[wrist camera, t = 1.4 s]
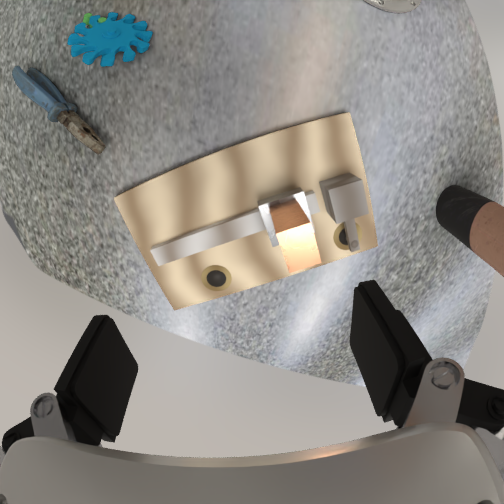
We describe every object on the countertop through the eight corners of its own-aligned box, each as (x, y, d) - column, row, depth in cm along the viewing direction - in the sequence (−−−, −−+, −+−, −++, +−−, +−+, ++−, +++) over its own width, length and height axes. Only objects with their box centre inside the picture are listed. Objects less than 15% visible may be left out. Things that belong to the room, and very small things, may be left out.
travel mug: (433, 187, 33) (535, 248, 15) (467, 179, 33) (563, 231, 15) (434, 234, 37) (518, 309, 19) (466, 224, 36) (548, 287, 18)
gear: (170, 40, 23) (91, 70, 18) (155, 72, 28) (87, 105, 23) (125, -1, 21) (53, 22, 16) (115, 30, 26) (52, 56, 21)
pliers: (118, 141, 30) (96, 146, 25) (108, 154, 30) (86, 162, 25) (37, 64, 23) (12, 61, 18) (30, 76, 24) (4, 75, 18)
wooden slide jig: (345, 112, 29) (363, 112, 24) (373, 241, 37) (390, 259, 32) (118, 194, 33) (99, 208, 28) (176, 304, 41) (168, 328, 36)
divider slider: (298, 185, 31) (320, 213, 22) (318, 255, 35) (341, 301, 26) (256, 198, 32) (262, 232, 23) (281, 267, 36) (292, 317, 27)
